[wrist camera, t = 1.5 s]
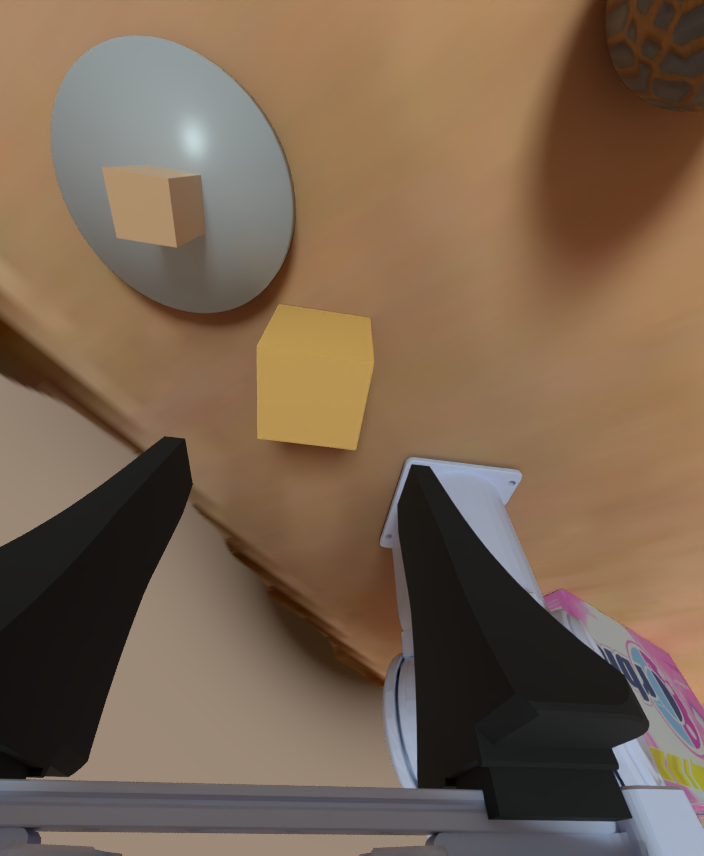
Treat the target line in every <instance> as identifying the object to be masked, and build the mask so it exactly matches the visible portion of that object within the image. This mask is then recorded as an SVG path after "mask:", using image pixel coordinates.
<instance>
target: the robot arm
mask: <svg viewBox="0 0 704 856" xmlns="http://www.w3.org/2000/svg"><path fill="white" fill-rule="evenodd" d="M409 469H410V470H409ZM521 479H522V474H521V473H520V471H519V470H515V469H507V468H499V467H490V466H482V465H474V464H466V463H457V462H449V461H441V460H432V459H424V458H416V457H411V458H408V459H407V460H406V461H405V464H404V467H403V470H402V473H401V476H400V479H399V482H398V485H397V488H396V491H395V494H394V497H393V501H392V504H391V507H390V510H389V513H388V516H387V519H386V522H385V525H384V528H383V531H382V534H381V538H380V545H381V546H382V547H386V548H392V553H393V563H394V574H395V585H396V595H397V606H398V615H399V620H400V624H401V627H402V629H403V632H401V640H402V650H403V653H401V654H398V655H397V656H396V657H395V658H394V659H393V660H392V661H391V663H390V665H389V668H388V671H387V674H386V679H385V684H384V688H383V695H382V720H383V729H384V735H385V741H386V746H387V750H388V754H389V757H390V760H391V763H392V766H393V769H394V771H395V774H396V776H397V778H398V780H399V782H400V784H401V785H402V787H403V788H374V787H333V786H289V785H246V784H203V783H160V782H117V781H114V782H113V781H72V780H71V781H70V780H29V779H26V777H36V778H37V777H38V778H43V777H44V776H56V777H69V776H71V775H72V774H74V773H75V772H76V771H78V770H79V769H80V768H81V767H82V766H83V765H84V764H85V763H86V762H87V761H88V758H89V754H90V751H91V748H92V744H93V741H94V738H95V734H96V731H97V728H98V724H99V721H100V718H101V715H102V711H103V708H104V705H105V702H106V698H107V695H108V692H109V690H110V687H111V684H112V681H113V678H114V675H115V672H116V668H117V665H118V662H119V660H120V657H121V654H122V651H123V648H124V646H125V643H126V640H127V637H128V634H129V631H130V629H131V626H132V623H133V621H134V618H135V615H136V613H137V610H138V607H139V605H140V602H141V600H142V597H143V594H144V592H145V590H146V588H147V585H148V583H149V581H150V579H151V577H152V574H153V573H154V571H155V569H156V567H157V565H158V563H159V560H160V559H161V557H162V555H163V553H164V551H165V549H166V547H167V545H168V543H169V541H170V539H171V537H172V535H173V533H174V531H175V528H176V526H177V524H178V522H179V520H180V518H181V516H182V514H183V511H184V508H185V506H186V503H187V500H188V497H189V494H190V491H191V488H192V485H193V483H192V477H191V471H190V465H189V459H188V454H187V448H186V442H185V439H183V438H174V437H166V436H165V437H163V438H162V439H161V440H159V441H158V442H157V443H155V444H154V445H153V446H151V447H150V448H149V449H148V450H146V451H145V452H144V453H142V454H141V455H140V456H139V457H137V458H136V459H135V460H134V461H132V462H131V463H130V464H128V465H127V466H126V467H125V468H123V469H122V470H121V471H119V472H118V473H117V474H115V475H114V476H113V477H111V478H110V479H109V480H107V481H106V482H105V483H104V484H102V485H100V486H99V487H98V488H97V489H95V490H93V491H92V492H91V493H89V494H88V495H86V496H85V497H83V498H82V499H80V500H79V501H77V502H76V503H75V504H73V505H72V506H70V507H69V508H67V509H66V510H64V511H62V512H61V513H59V514H58V515H56V516H54V517H53V518H51V519H49V520H48V521H46V522H45V523H43V524H41V525H39V526H38V527H36V528H34V529H33V530H31V531H29V532H27V533H26V534H24V535H22V536H21V537H18V538H17V539H15V540H13V541H11V542H9V543H7V544H5V545H3V546H1V547H0V856H122V854H118V853H110V852H104V851H100V850H95V849H94V848H93V847H87V846H66V845H45V844H41V837H40V835H39V833H38V832H35V831H59V832H155V833H249V834H250V833H251V834H255V833H256V834H347V835H356V834H357V835H425V836H426V838H427V841H426V844H425V846H408V847H387V848H386V847H385V848H373V850H372V852H371V853H366V854H360V855H359V856H704V829H703V827H702V825H701V823H700V821H699V819H698V817H697V815H696V813H695V812H694V810H693V808H692V806H691V804H690V802H689V800H688V798H687V796H686V794H685V792H684V790H682V789H681V788H680V787H678V786H666V784H665V782H664V780H663V778H662V776H661V774H660V772H659V770H658V769H657V766H656V763H655V761H654V758H653V756H652V753H651V751H650V749H649V747H648V744H647V742H646V740H645V738H644V736H643V735H644V734H645V733H646V732H647V731H648V729H649V726H650V725H649V720H648V718H647V717H646V715H645V713H644V711H643V709H642V707H641V705H640V703H639V701H638V699H637V697H636V695H635V694H634V692H633V690H632V688H631V686H630V684H629V682H628V681H627V679H626V677H625V675H624V674H622V673H621V672H620V671H619V670H617V669H616V668H615V667H614V666H612V665H611V664H610V663H608V662H607V661H606V660H605V659H604V657H603V655H602V653H601V651H600V650H599V648H598V646H597V644H596V642H595V641H594V639H593V637H592V636H591V634H590V632H589V631H588V629H587V628H586V626H585V625H584V623H583V622H582V621H581V620H580V619H578V618H576V617H574V616H572V615H570V614H568V613H567V612H566V611H565V610H563V609H558V610H554V611H550V610H549V609H548V607H547V605H546V603H545V600H544V598H543V596H542V593H541V591H540V589H539V586H538V584H537V581H536V579H535V577H534V574H533V572H532V570H531V567H530V565H529V563H528V560H527V558H526V556H525V553H524V551H523V549H522V546H521V544H520V542H519V539H518V537H517V535H516V532H515V530H514V528H513V525H512V523H511V521H510V518H509V516H508V513H507V511H506V509H505V505H506V503H507V502H508V500H509V499H510V497H511V495H512V494H513V492H514V490H515V489H516V487H517V485H518V484H519V482H520V481H521ZM510 481H512V482H510Z"/></svg>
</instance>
